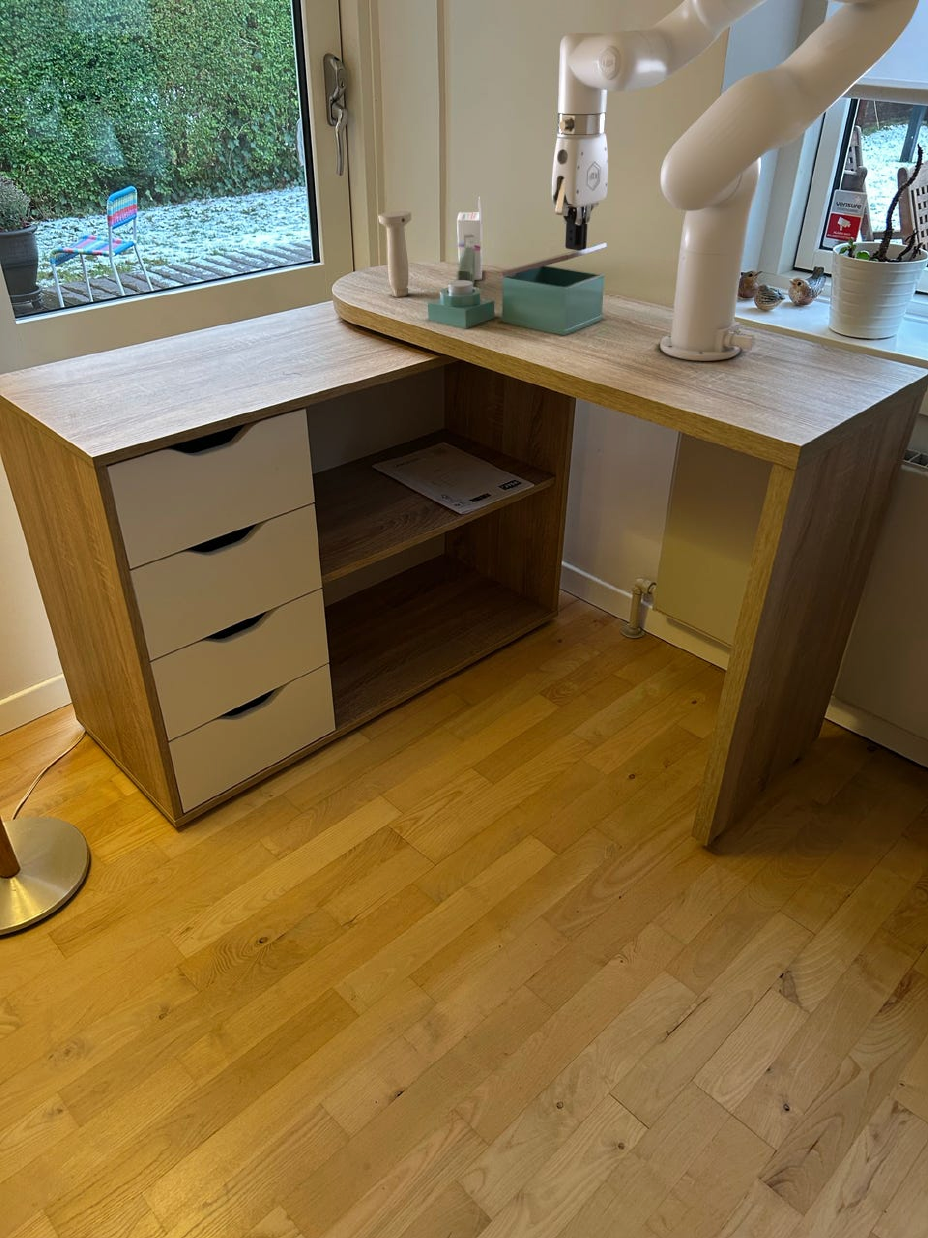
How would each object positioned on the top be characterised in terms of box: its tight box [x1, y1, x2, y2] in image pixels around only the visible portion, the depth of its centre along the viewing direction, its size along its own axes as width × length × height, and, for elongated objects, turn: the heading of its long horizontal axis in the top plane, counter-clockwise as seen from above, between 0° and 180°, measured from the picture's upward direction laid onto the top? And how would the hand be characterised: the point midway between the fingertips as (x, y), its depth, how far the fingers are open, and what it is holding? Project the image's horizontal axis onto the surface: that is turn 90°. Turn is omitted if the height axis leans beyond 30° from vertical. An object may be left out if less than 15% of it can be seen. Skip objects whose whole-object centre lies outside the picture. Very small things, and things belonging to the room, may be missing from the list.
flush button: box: [447, 279, 474, 295], centre depth 163 cm, size 4×4×2 cm
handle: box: [377, 210, 412, 298], centre depth 177 cm, size 5×6×15 cm
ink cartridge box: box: [456, 196, 483, 281], centre depth 188 cm, size 9×5×15 cm, turn 178°
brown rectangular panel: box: [501, 242, 608, 277], centre depth 157 cm, size 14×12×1 cm
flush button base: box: [427, 286, 495, 329], centre depth 164 cm, size 9×8×5 cm
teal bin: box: [501, 265, 605, 336], centre depth 161 cm, size 14×12×8 cm
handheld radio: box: [456, 247, 475, 285], centre depth 181 cm, size 7×3×25 cm
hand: (575, 248), depth 154 cm, fingers closed
